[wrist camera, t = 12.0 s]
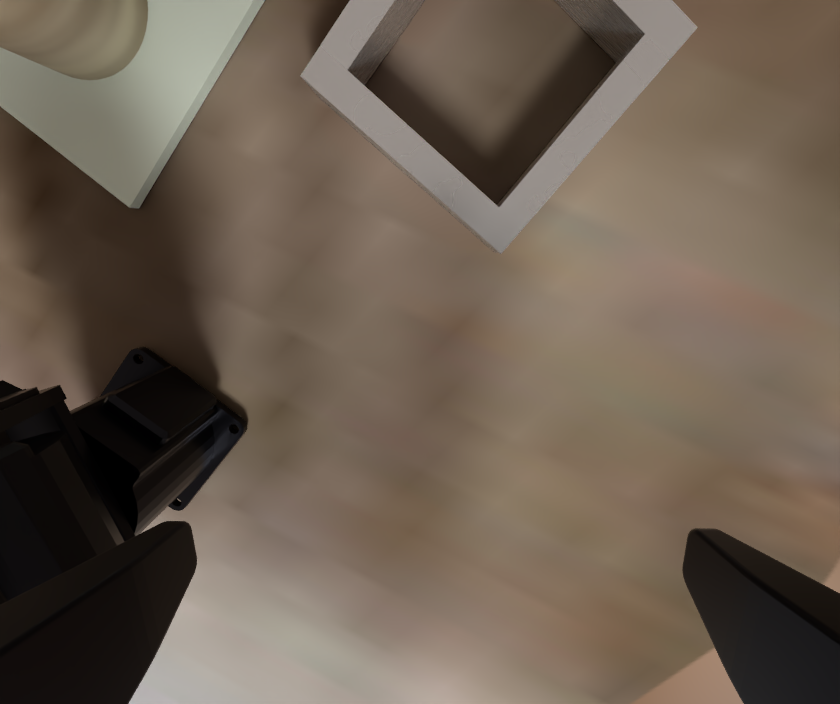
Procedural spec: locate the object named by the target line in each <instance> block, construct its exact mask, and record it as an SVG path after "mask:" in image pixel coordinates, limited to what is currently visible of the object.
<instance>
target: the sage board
mask: <svg viewBox="0 0 840 704" xmlns="http://www.w3.org/2000/svg"><path fill="white" fill-rule="evenodd" d="M264 1H265V0H147V2H148V21H147V27H146V32H145V36H144V39H143V42H142V44H141V46H140V49H139V51H138V52H137V54H136V55H135V57H134V58H133V59H132V61H131V62H130V63H129V64H128V65H127V66H126V67H125V68H124V69H122V70H121V71H119V72H118V73H116V74H114V75H112V76H110V77H107V78H103V79H99V80H81V79H77V78H72V77H70V76H67V75H64V74H62V73H60V72H57V71H55V70H53V69H50V68H48V67H46V66H43V65H41V64H38V63H36V62H34V61H31V60H29V59H27V58H24V57H22V56H20V55H17V54H15V53H13V52H10V51H8V50H6V49H3V48H1V47H0V106H1V107H2V108H3V109H4V110H6V111H7V112H8V113H9V114H11V115H12V116H13V117H15V118H16V119H17V120H18V121H20V122H21V123H22V124H23V125H25V126H26V127H27V128H29V129H30V130H31V131H32V132H34V133H35V134H36V135H37V136H39V137H40V138H41V139H43V140H44V141H45V142H46V143H48V144H49V145H50V146H51V147H53V148H54V149H55V150H57V151H58V152H59V153H60V154H62V155H63V156H64V157H65V158H67V159H68V160H69V161H71V162H72V163H73V164H74V165H76V166H77V167H78V168H79V169H81V170H82V171H83V172H85V173H86V174H87V175H88V176H90V177H91V178H92V179H93V180H95V181H96V182H97V183H99V184H100V185H101V186H102V187H104V188H105V189H106V190H108V191H109V192H110V193H111V194H113V195H114V196H115V197H116V198H118V199H119V200H120V201H122V202H123V203H124V204H125V205H127V206H128V207H129V208H138V209H139V208H140V206H141V204H142V203H143V201H144V199H145V198H146V196H147V194H148V193H149V191H150V189H151V188H152V186H153V184H154V183H155V181H156V180H157V178H158V176H159V175H160V173H161V171H162V170H163V168H164V166H165V165H166V163H167V161H168V160H169V158H170V156H171V155H172V153H173V151H174V150H175V148H176V146H177V145H178V143H179V142H180V140H181V138H182V137H183V135H184V133H185V132H186V130H187V128H188V127H189V125H190V123H191V122H192V120H193V118H194V117H195V115H196V113H197V112H198V110H199V108H200V107H201V105H202V104H203V102H204V100H205V99H206V97H207V95H208V94H209V92H210V90H211V89H212V87H213V85H214V84H215V82H216V80H217V79H218V77H219V75H220V74H221V72H222V71H223V69H224V67H225V66H226V64H227V62H228V61H229V59H230V57H231V56H232V54H233V52H234V51H235V49H236V47H237V46H238V44H239V42H240V41H241V39H242V37H243V36H244V34H245V33H246V31H247V29H248V28H249V26H250V24H251V23H252V21H253V19H254V18H255V16H256V14H257V13H258V11H259V9H260V8H261V6H262V4H263V3H264Z"/></svg>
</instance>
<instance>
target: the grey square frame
mask: <svg viewBox="0 0 840 704" xmlns="http://www.w3.org/2000/svg"><path fill="white" fill-rule="evenodd" d="M424 1H425V0H350V1H349V2H348V4H347V5H346V7H345V8H344V10H343V11H342V13H341V14H340V16H339V18H338V19H337V21H336V22H335V24H334V25H333V27H332V28H331V30H330V31H329V33H328V34H327V36H326V37H325V39H324V40H323V42H322V44H321V45H320V47H319V48H318V50H317V51H316V53H315V54H314V56H313V57H312V59H311V60H310V62H309V63H308V65H307V66H306V68H305V69H304V71H303V73H302V74H301V77H302V78H303V79H304V81H305V82H306V83H307V84H308V85H309V86H310V87H311V89H312V90H313V91H314V92H315V93H316V94H317V95H318V97H319V98H320V99H322V100H323V101H324V102H325V103H326V104H327V105H328V106H329V107H331V108H332V109H333V110H334V111H335V112H336V113H337V114H339V115H340V116H341V117H342V118H343V119H344V120H345V121H346V122H348V123H349V124H350V125H351V126H352V127H353V128H354V129H355V130H357V131H358V132H359V133H360V134H361V135H362V136H363V137H365V138H366V139H367V140H368V141H369V142H370V143H371V144H372V145H374V146H375V147H376V148H377V149H378V150H379V151H380V152H381V153H383V154H384V155H385V156H386V157H387V158H388V159H389V160H391V161H392V162H393V163H394V164H395V165H396V166H397V167H398V168H400V169H401V170H402V171H403V172H404V173H405V174H406V175H407V176H409V177H410V178H411V179H412V180H413V181H414V182H415V183H417V184H418V185H419V186H420V187H421V188H422V189H423V190H424V191H426V192H427V193H428V194H429V195H430V196H431V197H432V198H434V199H435V200H436V201H437V202H438V203H439V204H440V205H441V206H443V207H444V208H445V209H446V210H447V211H448V212H449V213H450V214H452V215H453V216H454V217H455V218H456V219H457V220H458V221H460V222H461V223H462V224H463V225H464V226H465V227H466V228H467V229H469V230H470V231H471V232H472V233H473V234H474V235H475V236H476V237H478V238H479V239H480V240H481V241H482V242H483V243H484V244H486V245H487V246H488V247H489V248H490V249H491V250H492V251H493V252H497V253H500V254H501V253H502V252H503V251H504V250H505V249H506V247H507V246H508V245H509V244H510V243H511V242H512V241H513V239H514V238H515V237H516V236H517V235H518V234H519V232H520V231H521V230H522V229H523V228H524V227H525V226H526V224H527V223H528V222H529V221H530V220H531V219H532V218H533V216H534V215H535V214H536V213H537V212H538V211H539V209H540V208H541V207H542V206H543V205H544V204H545V203H546V201H547V200H548V199H549V198H550V197H551V196H552V195H553V193H554V192H555V191H556V190H557V189H558V188H559V186H560V185H561V184H562V183H563V182H564V181H565V180H566V178H567V177H568V176H569V175H570V174H571V173H572V172H573V170H574V169H575V168H576V167H577V166H578V165H579V163H580V162H581V161H582V160H583V159H584V158H585V157H586V155H587V154H588V153H589V152H590V151H591V150H592V148H593V147H594V146H595V145H596V144H597V143H598V142H599V140H600V139H601V138H602V137H603V136H604V135H605V134H606V132H607V131H608V130H609V129H610V128H611V127H612V125H613V124H614V123H615V122H616V121H617V120H618V119H619V117H620V116H621V115H622V114H623V113H624V112H625V111H626V109H627V108H628V107H629V106H630V105H631V104H632V102H633V101H634V100H635V99H636V98H637V97H638V96H639V94H640V93H641V92H642V91H643V90H644V89H645V87H646V86H647V85H648V84H649V83H650V82H651V81H652V79H653V78H654V77H655V76H656V75H657V74H658V73H659V71H660V70H661V69H662V68H663V67H664V66H665V64H666V63H667V62H668V61H669V60H670V59H671V58H672V56H673V55H674V54H675V53H676V52H677V51H678V50H679V48H680V47H681V46H682V45H683V44H684V43H685V41H686V40H687V39H688V38H689V37H690V36H691V35H692V33H693V32H694V31H695V30H696V29H697V28H698V27H697V26H696V25H695V24H694V23H693V22H692V21H691V20H690V19H689V18H688V17H687V16H686V15H685V13H684V12H683V11H682V10H681V9H680V8H679V7H678V6H677V5H676V4H675V3H674V2H673V1H672V0H555V1H556V2H557V3H558V4H559V5H560V6H561V7H562V8H563V9H564V10H565V12H566V13H567V14H568V15H569V16H570V17H571V18H572V19H573V20H574V21H575V22H576V23H577V24H578V25H579V26H580V27H581V28H582V29H583V30H584V31H585V32H586V33H587V34H588V35H589V36H590V37H591V38H592V39H593V40H594V41H595V42H596V43H597V44H598V45H599V46H600V47H601V48H602V49H603V50H604V51H605V52H606V53H607V54H608V55H609V56H610V57H611V58H612V59H613V60H614V61H615V62H616V63H615V65H614V66H613V67H612V68H611V69H610V71H609V72H608V73H607V74H606V75H605V76H604V78H603V79H602V80H601V81H600V82H599V84H598V85H597V86H596V87H595V88H594V90H593V91H592V92H591V93H590V94H589V96H588V97H587V98H586V99H585V100H584V102H583V103H582V104H581V105H580V106H579V107H578V109H577V110H576V111H575V112H574V113H573V115H572V116H571V117H570V118H569V119H568V121H567V122H566V123H565V124H564V125H563V127H562V128H561V129H560V130H559V131H558V133H557V134H556V135H555V136H554V137H553V138H552V140H551V141H550V142H549V143H548V144H547V146H546V147H545V148H544V149H543V150H542V152H541V153H540V154H539V155H538V156H537V158H536V159H535V160H534V161H533V162H532V164H531V165H530V166H529V167H528V168H527V170H526V171H525V172H524V173H523V174H522V175H521V177H520V178H519V179H518V180H517V181H516V183H515V184H514V185H513V186H512V187H511V189H510V190H509V191H508V192H507V193H506V195H505V196H504V197H503V198H502V199H501V201H500V202H499V203H498V204H497V205H496V204H495V203H494V202H493V201H491V200H490V199H489V198H488V197H487V196H486V195H485V194H484V193H483V192H481V191H480V190H479V189H478V188H477V187H476V186H475V185H474V184H473V183H472V182H470V181H469V180H468V179H467V178H466V177H465V176H464V175H463V174H462V173H460V172H459V171H458V170H457V169H456V168H455V167H454V166H453V165H452V164H451V163H449V162H448V161H447V160H446V159H445V158H444V157H443V156H442V155H441V154H439V153H438V152H437V151H436V150H435V149H434V148H433V147H432V146H431V145H430V144H428V143H427V142H426V141H425V140H424V139H423V138H422V137H421V136H420V135H418V134H417V133H416V132H415V131H414V130H413V129H412V128H411V127H410V126H409V125H407V124H406V123H405V122H404V121H403V120H402V119H401V118H400V117H399V116H397V115H396V114H395V113H394V112H393V111H392V110H391V109H390V108H389V107H388V106H386V105H385V104H384V103H383V102H382V101H381V100H380V99H379V98H378V97H376V96H375V95H374V94H373V93H372V92H371V91H370V90H369V89H368V88H366V87H365V85H366V84H367V82H368V81H369V79H370V78H371V77H372V75H373V74H374V72H375V71H376V69H377V68H378V67H379V65H380V64H381V62H382V61H383V59H384V58H385V57H386V55H387V54H388V52H389V51H390V49H391V48H392V47H393V45H394V44H395V42H396V41H397V39H398V38H399V36H400V35H401V34H402V32H403V31H404V29H405V28H406V26H407V25H408V24H409V22H410V21H411V19H412V18H413V16H414V15H415V14H416V12H417V11H418V9H419V8H420V6H421V5H422V4H423V2H424Z"/></svg>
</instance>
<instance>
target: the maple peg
mask: <svg viewBox="0 0 840 704" xmlns="http://www.w3.org/2000/svg"><path fill="white" fill-rule="evenodd" d="M147 21H148V2H147V0H0V47H1V48H3V49H6V50H8V51H10V52H13V53H15V54H17V55H20V56H22V57H24V58H27V59H29V60H31V61H34V62H36V63H38V64H41V65H43V66H46V67H48V68H50V69H53V70H55V71H57V72H60V73H62V74H64V75H67V76H70V77H72V78H77V79H81V80H99V79H103V78H107V77H110V76H112V75H114V74H116V73H118V72H119V71H121V70H122V69H124V68H125V67H126V66H127V65H128V64H129V63H130V62H131V61H132V59H133V58H134V57H135V55H136V54H137V52H138V51H139V49H140V46H141V44H142V42H143V39H144V36H145V32H146V27H147Z"/></svg>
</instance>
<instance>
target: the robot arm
mask: <svg viewBox="0 0 840 704" xmlns="http://www.w3.org/2000/svg"><path fill="white" fill-rule="evenodd" d="M139 354H140V355H141V356H142V357H143V359H144V361H141V360H140V359H139ZM65 399H66V396H65V394H64V392H63V390H62V388H61V387H60V385H57V386H54V387H51V388H47V389H44V390H40V391H38V389H37V387H35V388H31V389H27V390H26V389H23V390H22V389H20V388H18V387H16V386H14V385H12V384H9V383H7V382H5V381H3V380H2V381H0V704H128V703H129V702H130V700H131V698H132V696H133V695H134V693H135V691H136V689H137V688H138V686H139V684H140V682H141V681H142V679H143V677H144V676H145V674H146V672H147V670H148V668H149V666H150V665H151V663H152V661H153V659H154V657H155V655H156V653H157V651H158V649H159V647H160V645H161V643H162V641H163V639H164V637H165V635H166V633H167V630H168V628H169V626H170V624H171V622H172V620H173V618H174V616H175V613H176V611H177V609H178V607H179V605H180V603H181V601H182V598H183V596H184V594H185V592H186V590H187V588H188V586H189V584H190V581H191V579H192V577H193V575H194V573H195V569H196V565H197V556H196V551H195V545H194V540H193V534H192V529H191V526H190V525H189V523H187V522H185V521H166V522H163V523H160V524H158V525H157V526H155V527H153V528H151V529H149V530H147V531H145V532H143V533H141V532H142V531H143V530H144V529H145V528H146V527H147V526H148V525H149V524H150V523H151V522H152V521H153V520H154V519H155V518H156V517H157V516H158V515H159V514H160V513H161V512H162V511H163V510H164V509H165V508H166V507H167V506H169V507H170V508H172V509H174V510H178V511H179V510H183V509H184V508H185V507H186V506H187V505H188V504H189V503H190V501H191V500H192V499H193V498H194V496H195V495H196V494H197V493H198V491H199V490H200V489H201V488H202V486H203V485H204V484H205V482H206V481H207V480H208V479H209V477H210V476H211V475H212V474H213V472H214V471H215V470H216V469H217V467H218V466H219V465H220V464H221V462H222V461H223V460H224V458H225V457H226V456H227V455H228V453H229V452H230V451H231V450H232V448H233V447H234V446H235V445H236V443H237V442H238V441H239V440H240V438H241V437H242V436H243V434H244V433H245V432H246V430H247V423H246V421H245V420H244V419H243V418H241V417H240V416H239V415H237V414H236V413H235V412H233V411H232V410H231V409H229V408H228V407H227V406H225V405H224V404H222V403H221V402H220V401H218V400H217V399H216V397H215V396H214V395H213V394H211V393H210V392H208V391H207V390H206V389H204V388H203V387H202V386H200V385H199V384H198V383H196V382H195V381H194V380H192V379H191V378H190V377H188V376H187V375H186V374H184V373H183V372H181V371H180V370H179V369H177V368H176V367H174V366H171V365H170V364H168V363H167V362H166V361H164V360H163V359H162V358H160V357H159V356H158V355H156V354H155V353H154V352H152V351H151V350H149V349H148V348H146V347H139V348H136V349H133V350H131V351H130V352H129V354H128V355H127V357H126V358H125V360H124V361H123V363H122V364H121V366H120V367H119V369H118V370H117V372H116V373H115V375H114V376H113V378H112V379H111V381H110V382H109V384H108V385H107V387H106V388H105V390H104V391H103V393H102V394H101V396H100V397H99V398H97V399H94V400H92V401H90V402H88V403H86V404H84V405H82V406H80V407H78V408H75V409H73V410H71V411H69V409H68V407H67V406H66V404H65V402H64V400H65ZM232 424H235V425H237V426H238V428H239V430H235V429H234V428H233V425H232ZM177 498H178V499H180V500H181V502H180V501H178V500H177ZM140 533H141V534H140ZM683 577H684V580H685V583H686V585H687V588H688V590H689V592H690V594H691V596H692V599H693V601H694V603H695V605H696V607H697V609H698V612H699V614H700V616H701V618H702V620H703V623H704V625H705V627H706V629H707V631H708V633H709V636H710V638H711V640H712V642H713V644H714V646H715V649H716V651H717V653H718V655H719V657H720V659H721V662H722V664H723V666H724V668H725V670H726V672H727V674H728V676H729V678H730V680H731V682H732V683H733V685H734V687H735V689H736V691H737V692H738V694H739V696H740V698H741V700H742V701H743V703H744V704H840V593H838V592H836V591H834V590H832V589H830V588H828V587H826V586H825V585H823V584H821V583H819V582H817V581H815V580H813V579H811V578H809V577H807V576H806V575H804V574H802V573H800V572H798V571H796V570H794V569H792V568H790V567H788V566H787V565H785V564H783V563H781V562H779V561H777V560H775V559H773V558H771V557H770V556H768V555H766V554H764V553H762V552H760V551H758V550H756V549H754V548H752V547H751V546H749V545H747V544H745V543H743V542H741V541H739V540H737V539H735V538H733V537H732V536H730V535H728V534H726V533H724V532H722V531H720V530H718V529H700V528H695V529H692V530H691V531H690V532H689V534H688V537H687V543H686V550H685V556H684V562H683Z"/></svg>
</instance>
